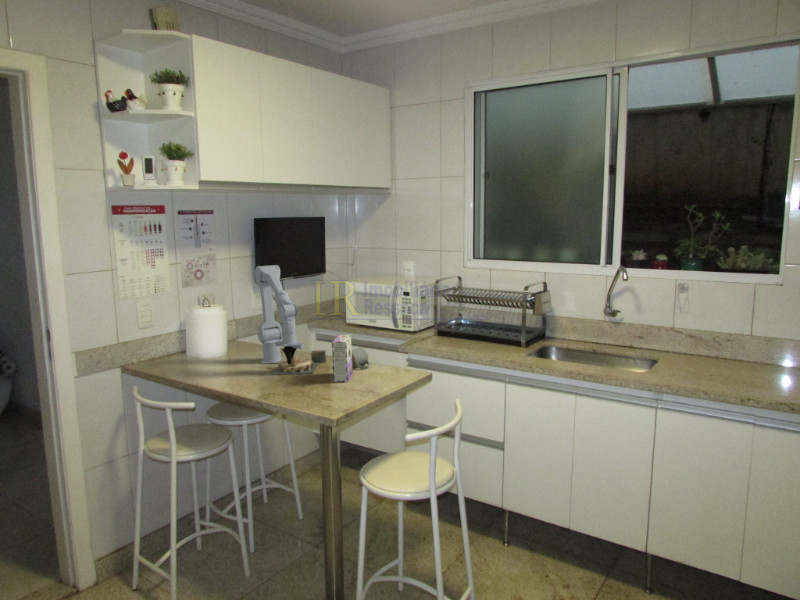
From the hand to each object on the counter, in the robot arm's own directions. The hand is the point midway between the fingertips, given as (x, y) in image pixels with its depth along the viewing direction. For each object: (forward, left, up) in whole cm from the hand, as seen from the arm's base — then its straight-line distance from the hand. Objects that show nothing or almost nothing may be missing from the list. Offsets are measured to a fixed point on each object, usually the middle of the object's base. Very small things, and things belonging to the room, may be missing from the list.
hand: (290, 364), depth 232 cm
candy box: (+11, +24, -4) cm, 26 cm away
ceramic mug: (-5, +28, -4) cm, 29 cm away
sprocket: (-4, +2, -3) cm, 5 cm away
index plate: (-4, +2, -3) cm, 5 cm away
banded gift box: (-15, +10, -3) cm, 18 cm away
